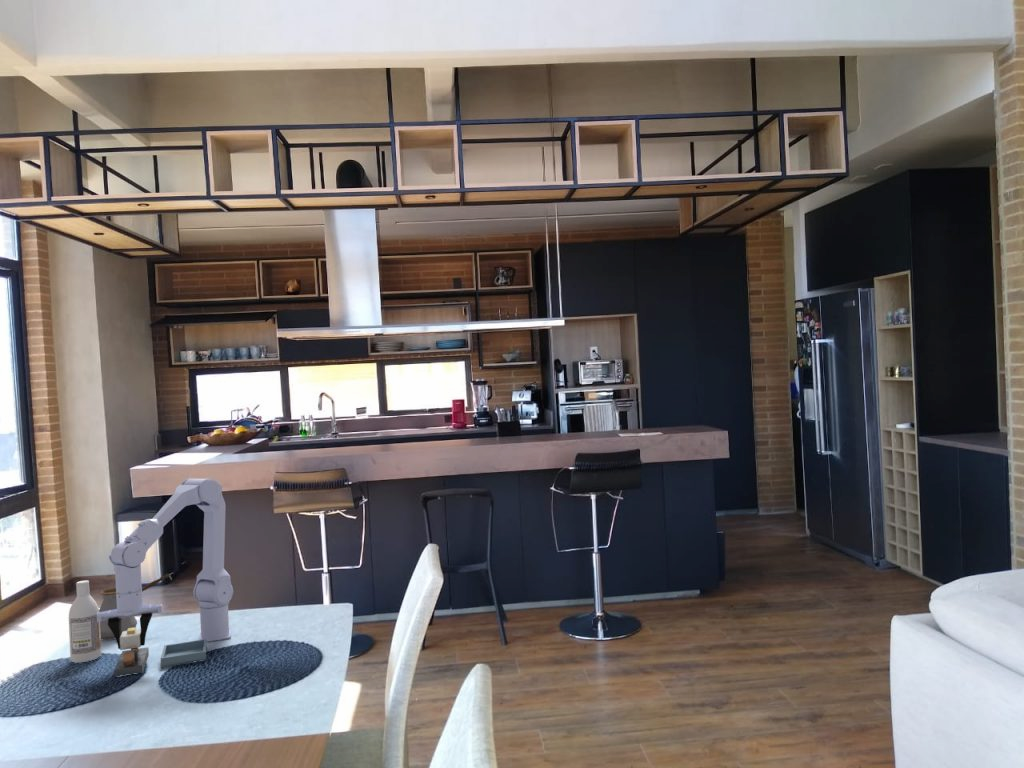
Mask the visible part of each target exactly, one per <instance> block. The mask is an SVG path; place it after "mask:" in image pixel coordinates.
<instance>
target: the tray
mask: <svg viewBox="0 0 1024 768" xmlns="http://www.w3.org/2000/svg"><path fill="white" fill-rule="evenodd" d="M206 653H207V654H208V642H207V639H204V640H199V639H197V640H191V641H185V642H178V643H171V644H164V645H163V649H162V652H161V656H160V668H161V669H167V668H171V667H177V666H176V665H179V666H181V665H180V664H184V663H189V662H194V661H200V660H205V659H206V660H207V655H206Z"/></svg>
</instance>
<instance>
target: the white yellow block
mask: <svg viewBox="0 0 1024 768" xmlns="http://www.w3.org/2000/svg"><path fill="white" fill-rule="evenodd" d="M141 647H142V646H141V628H137V626H136V627H133V628H128V630H127V631H123V632H122V634H121V636H120V649H119V650H120V651H126V650H131V649H132V648H139V649H140V648H141Z"/></svg>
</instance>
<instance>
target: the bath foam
mask: <svg viewBox="0 0 1024 768" xmlns="http://www.w3.org/2000/svg"><path fill="white" fill-rule="evenodd" d="M75 587H76V588H75V589H76V598H75V599H74V601H73V602H72V605H71V606H70V608H69V610H68V611H69V612H68V630H69V631H68V632H69V633H68V634H69V654H70V657H69V658H70V662H71V661H72V662H82V661H87V660H92V659H95V658H98V657H99V656H101V657H102V640H101V634H100V622H97V613H98V612H99V609H100V607H99V605H98V603H97V601H96V600H95V599H94V597H92V596H91V594H90V581H89V580H88V579H87V580H80V581H77V582H76V583H75ZM98 659H99V658H98ZM72 662H71V663H72Z"/></svg>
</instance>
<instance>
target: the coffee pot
mask: <svg viewBox="0 0 1024 768" xmlns="http://www.w3.org/2000/svg"><path fill="white" fill-rule="evenodd" d="M168 578H169V580H170V581H172V580H173V578H172V576H171V574H170V573H167V574H165V575H164V576H160V578H158V579H157V578H156V579H155V580H153V581H151V582H150V583H148V584H146V585H145V586H142V592H144V591H146V590H148V589H150V588H152V587H153V586H156V585H157V584H159V583H160V582H161V581H164V579H168ZM99 593H100V595H101V596H102V602H101V604H100V607H99V612H104V611H109V610H114V609H117V598H116V587H114V588H107V589H105V590H102V591H101V590H100V592H99ZM137 624H138V621H137V619H136V616H133V617H126V618H121V634H122V632H123V631H127V630H128V628H133V627H136V628H137ZM100 634H101V639H103V640H102V641H111V640H110V639H113V640H116V639H115V636H114V634H113V632H112V631H111V629H110V628H109V626H108V620H104V621H101V622H100Z"/></svg>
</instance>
